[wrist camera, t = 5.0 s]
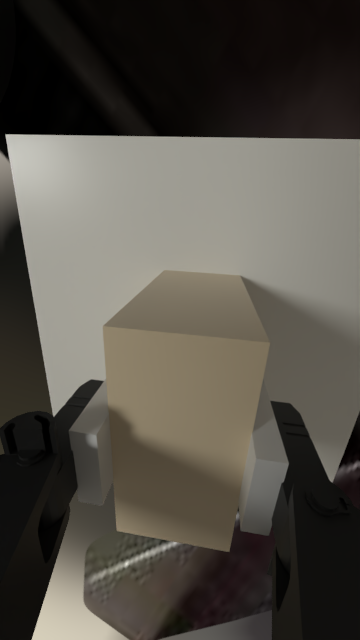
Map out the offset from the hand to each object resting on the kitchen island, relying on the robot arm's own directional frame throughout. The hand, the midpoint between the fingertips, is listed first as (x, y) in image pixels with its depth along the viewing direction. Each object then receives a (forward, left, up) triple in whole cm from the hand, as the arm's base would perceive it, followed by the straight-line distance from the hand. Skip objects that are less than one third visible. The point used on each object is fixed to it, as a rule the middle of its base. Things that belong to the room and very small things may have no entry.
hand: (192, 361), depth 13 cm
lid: (0, 0, -3) cm, 3 cm away
